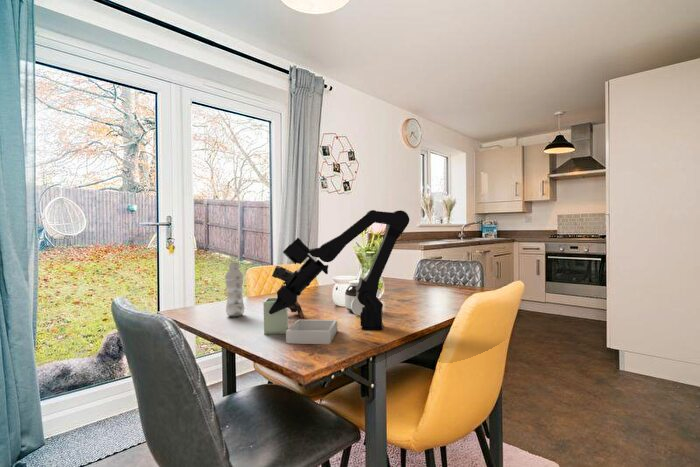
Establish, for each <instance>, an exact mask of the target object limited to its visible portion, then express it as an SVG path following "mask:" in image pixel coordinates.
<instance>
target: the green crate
mask: <svg viewBox="0 0 700 467" xmlns="http://www.w3.org/2000/svg"><path fill="white" fill-rule="evenodd" d="M276 300H277V297H267V298H266V299H265V300H264V301H263V302H262V303H263V304H262V305H263V331H264V332H263V334H264V336H267V335H286V330H287V329H288V328H289V326H288V324H289V322H288V320H289V319H288V308H285V309H282V310H280V311H278V312H276V313H273V314H270V313H269V310H270V309H271V307H272V306H273V304H274V303H275V301H276Z"/></svg>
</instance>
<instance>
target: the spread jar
mask: <svg viewBox="0 0 700 467" xmlns="http://www.w3.org/2000/svg"><path fill="white" fill-rule="evenodd" d="M358 283H359V279H355V280H349V284H348V285H349V286H348V287H347V288H346V290H345V293H344V305H345V308H346V310H347V311H348V312H349V313H352V314H355V315H356V316H359V317H360V314H361V312H362V308H363V307H365V306H364V305H362V304H361V303H360V302H359V300H358V298H357V296H356V291H357V290H356V289H355V288H356V287H357V285H358Z"/></svg>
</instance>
